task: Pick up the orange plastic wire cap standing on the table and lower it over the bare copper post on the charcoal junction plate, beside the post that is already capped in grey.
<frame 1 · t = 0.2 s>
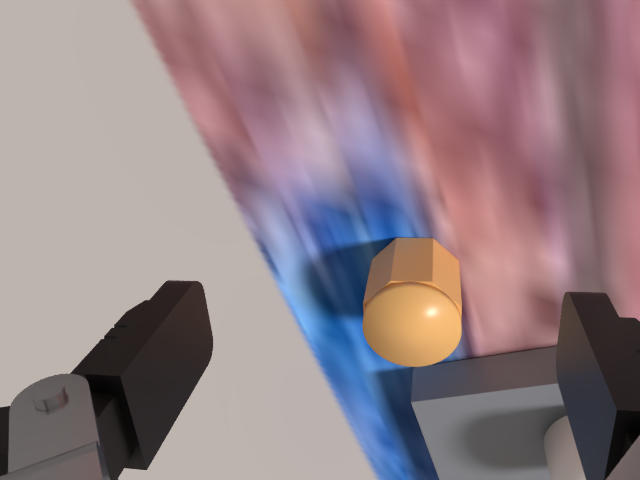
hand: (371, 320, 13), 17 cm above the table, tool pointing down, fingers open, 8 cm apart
junction plate: (536, 447, 36), on the table
orange wire cap: (414, 274, 32), on the table
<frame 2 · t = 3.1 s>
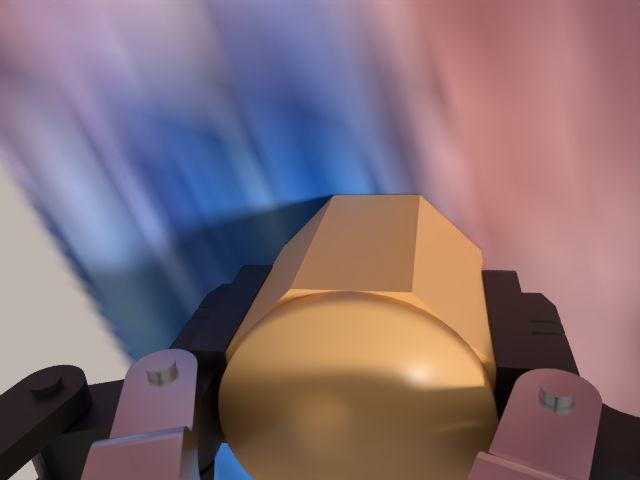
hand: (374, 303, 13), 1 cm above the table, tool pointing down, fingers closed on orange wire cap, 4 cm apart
orange wire cap: (379, 285, 14), on the table, touching gripper
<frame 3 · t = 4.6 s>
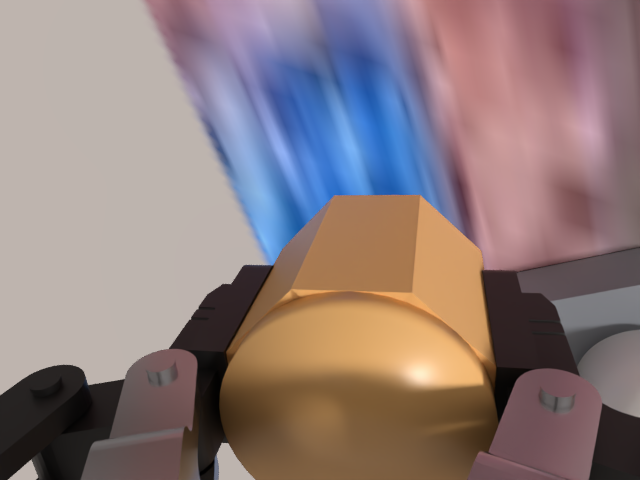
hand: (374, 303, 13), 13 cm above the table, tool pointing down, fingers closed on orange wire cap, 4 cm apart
junction plate: (560, 407, 28), on the table
orange wire cap: (379, 285, 14), point 12 cm above the table, touching gripper
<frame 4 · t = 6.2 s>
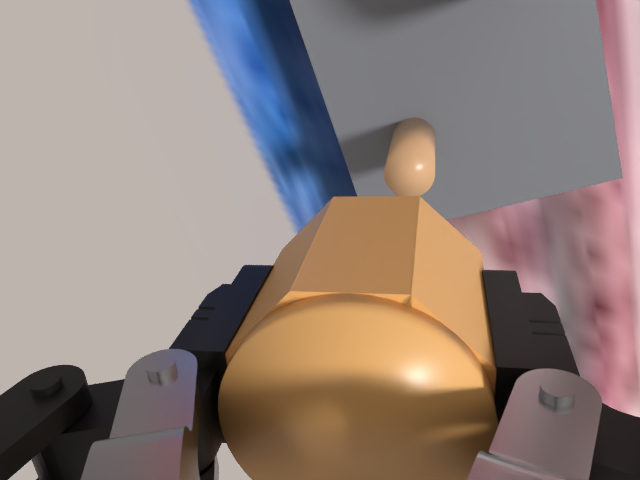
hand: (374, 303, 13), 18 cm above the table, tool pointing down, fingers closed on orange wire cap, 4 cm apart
junction plate: (446, 38, 27), on the table
orange wire cap: (379, 286, 14), point 17 cm above the table, touching gripper
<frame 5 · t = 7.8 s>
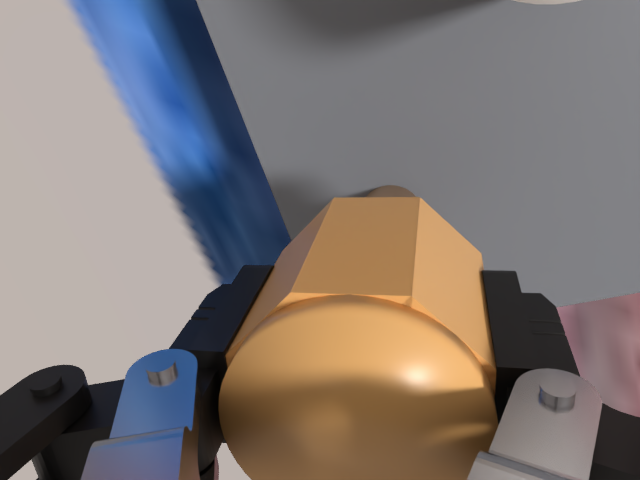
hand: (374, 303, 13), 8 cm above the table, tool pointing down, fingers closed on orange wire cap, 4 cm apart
junction plate: (440, 66, 19), on the table
orange wire cap: (379, 287, 14), point 7 cm above the table, touching gripper
when the fingers open (5 cm above the table, at t = 9.2 s): orange wire cap stays where it is, resting on junction plate.
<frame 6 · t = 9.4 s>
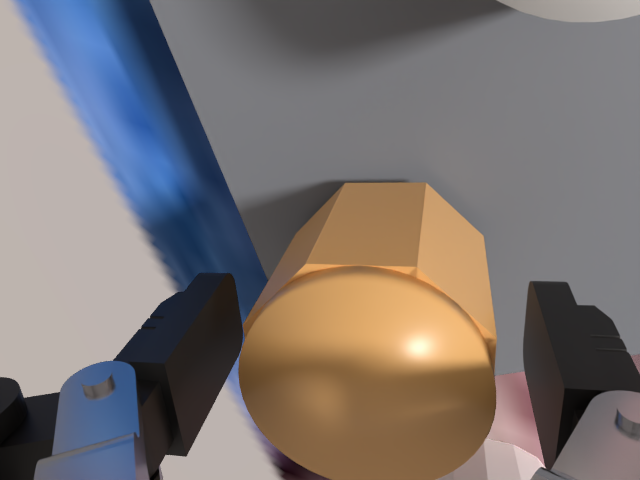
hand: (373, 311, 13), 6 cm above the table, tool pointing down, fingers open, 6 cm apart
junction plate: (441, 85, 16), on the table
orange wire cap: (387, 268, 15), point 4 cm above the table, touching junction plate
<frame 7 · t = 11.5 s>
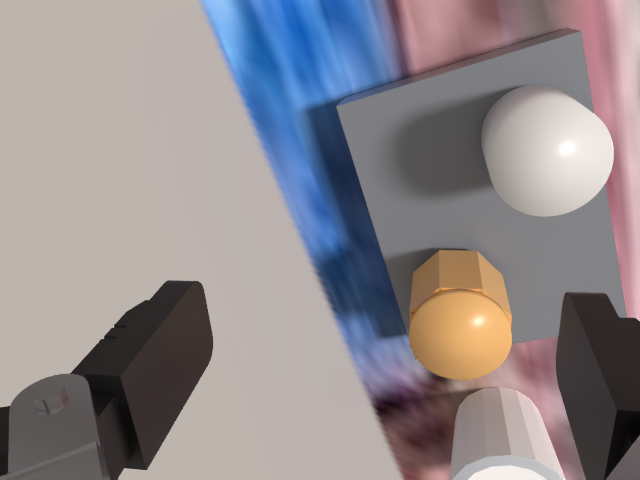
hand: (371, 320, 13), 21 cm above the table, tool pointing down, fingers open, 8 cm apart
white tapered cup: (497, 418, 39), on the table
junction plate: (482, 200, 33), on the table
orange wire cap: (456, 289, 31), point 4 cm above the table, touching junction plate
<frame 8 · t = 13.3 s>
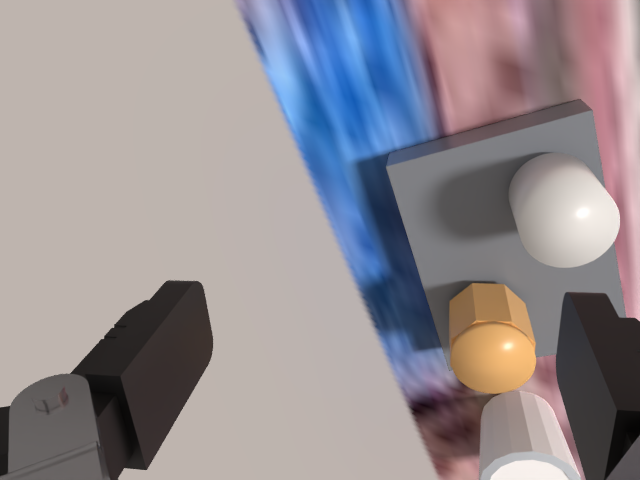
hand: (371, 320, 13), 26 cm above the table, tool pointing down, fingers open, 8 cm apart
white tapered cup: (517, 416, 45), on the table
junction plate: (506, 237, 39), on the table
orange wire cap: (486, 314, 37), point 4 cm above the table, touching junction plate
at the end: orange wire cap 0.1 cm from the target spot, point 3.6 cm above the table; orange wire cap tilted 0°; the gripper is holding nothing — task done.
